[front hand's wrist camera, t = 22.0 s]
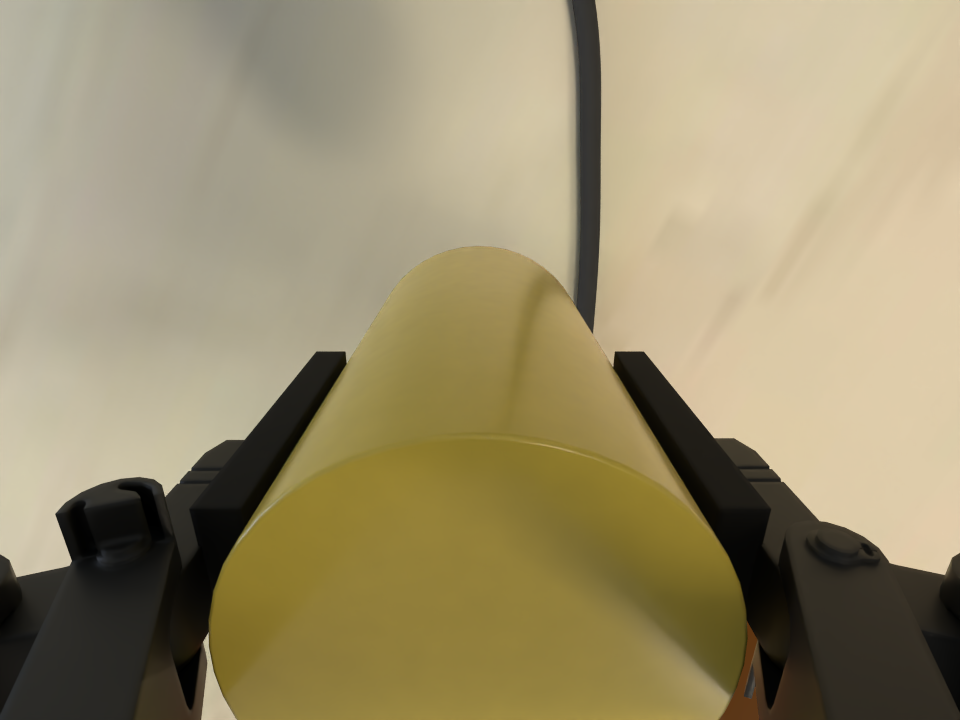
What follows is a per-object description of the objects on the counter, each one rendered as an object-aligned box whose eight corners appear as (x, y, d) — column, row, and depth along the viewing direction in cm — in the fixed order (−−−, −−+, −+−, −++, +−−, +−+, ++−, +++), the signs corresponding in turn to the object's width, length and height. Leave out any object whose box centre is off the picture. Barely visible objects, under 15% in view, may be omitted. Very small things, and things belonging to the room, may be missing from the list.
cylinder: (624, 346, 18) (858, 663, 7) (481, 472, 20) (484, 883, 9) (475, 197, 16) (466, 303, 5) (334, 351, 18) (101, 675, 7)
